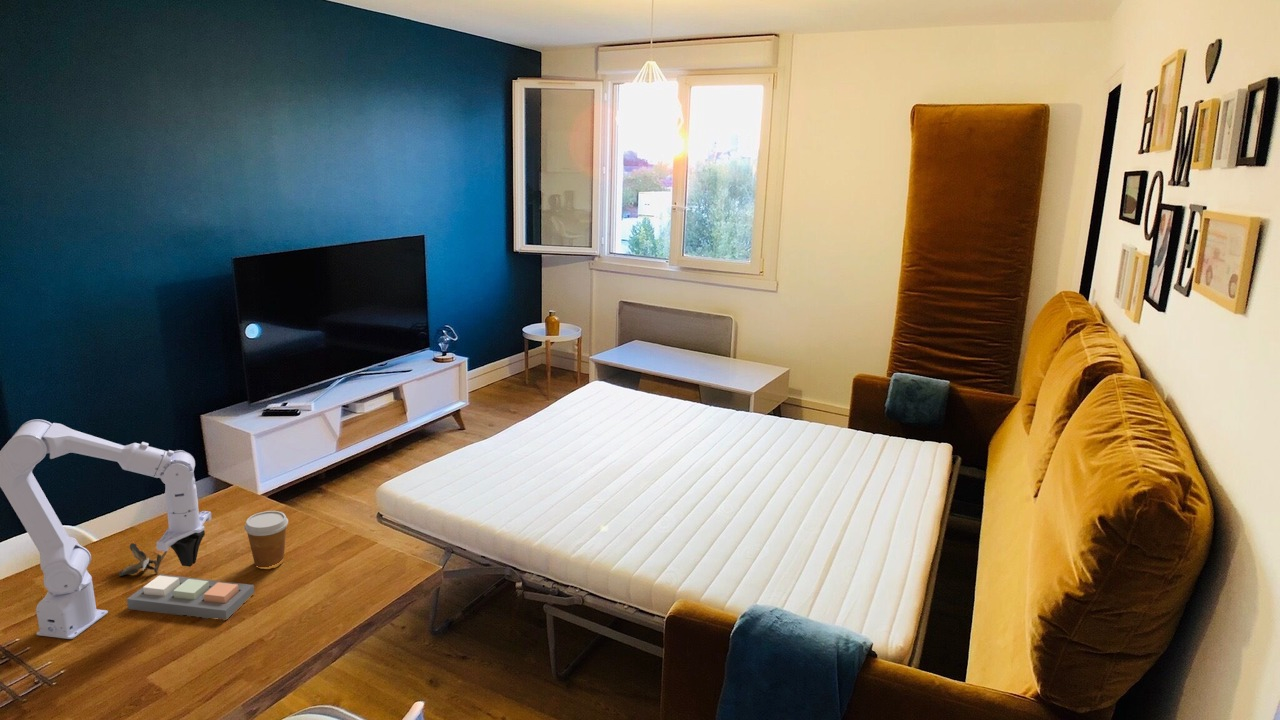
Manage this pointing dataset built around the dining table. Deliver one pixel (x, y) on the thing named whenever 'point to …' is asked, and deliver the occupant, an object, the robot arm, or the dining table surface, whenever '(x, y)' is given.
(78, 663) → the dining table surface
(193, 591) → the sage key
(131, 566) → the eagle figurine
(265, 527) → the disposable coffee cup
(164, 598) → the key frame
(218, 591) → the terracotta key
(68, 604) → the robot arm
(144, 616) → the dining table surface
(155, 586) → the ivory key
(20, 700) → the dining table surface
